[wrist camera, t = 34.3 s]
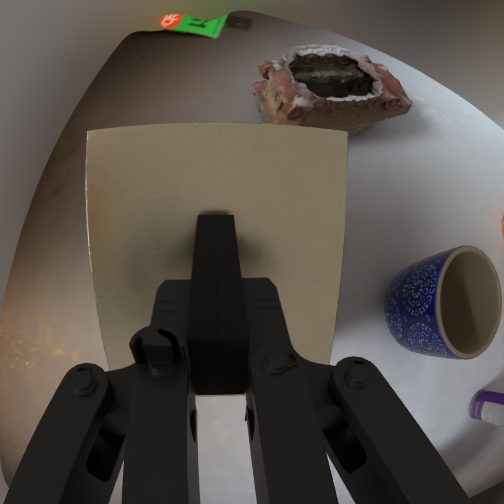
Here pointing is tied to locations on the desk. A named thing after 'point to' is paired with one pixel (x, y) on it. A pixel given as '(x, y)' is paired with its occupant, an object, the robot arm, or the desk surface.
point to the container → (488, 407)
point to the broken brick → (328, 90)
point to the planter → (446, 304)
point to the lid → (216, 203)
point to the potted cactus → (503, 226)
